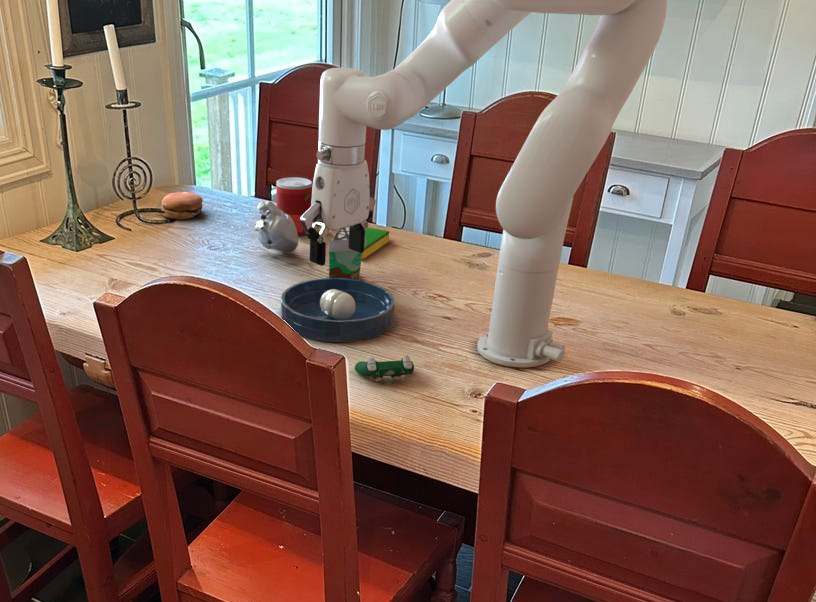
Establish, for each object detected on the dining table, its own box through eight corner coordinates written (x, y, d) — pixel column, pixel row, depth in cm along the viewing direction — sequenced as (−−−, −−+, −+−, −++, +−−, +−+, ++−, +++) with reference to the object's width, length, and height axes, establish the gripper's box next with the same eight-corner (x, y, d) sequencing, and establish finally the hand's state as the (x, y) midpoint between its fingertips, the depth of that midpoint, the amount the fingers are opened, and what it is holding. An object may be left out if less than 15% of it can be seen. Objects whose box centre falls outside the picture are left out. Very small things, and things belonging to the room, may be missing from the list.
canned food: (311, 237, 190) (311, 186, 184) (275, 236, 190) (275, 185, 184) (312, 226, 196) (313, 177, 190) (278, 225, 196) (277, 176, 190)
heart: (295, 266, 173) (298, 205, 168) (250, 261, 174) (252, 201, 169) (305, 258, 182) (308, 200, 177) (262, 254, 184) (264, 196, 179)
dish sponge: (332, 254, 181) (333, 243, 180) (360, 236, 191) (361, 225, 190) (362, 260, 178) (363, 248, 177) (389, 241, 189) (390, 230, 187)
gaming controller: (355, 387, 135) (362, 376, 129) (353, 364, 136) (359, 352, 130) (411, 384, 137) (420, 372, 131) (409, 361, 137) (417, 349, 131)
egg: (361, 319, 152) (362, 293, 149) (342, 327, 149) (342, 300, 146) (332, 308, 156) (333, 282, 153) (313, 316, 153) (314, 289, 150)
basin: (416, 320, 153) (417, 299, 151) (339, 354, 141) (340, 332, 139) (335, 289, 164) (335, 269, 162) (258, 318, 152) (257, 297, 150)
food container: (358, 295, 162) (361, 243, 157) (327, 291, 163) (328, 240, 158) (369, 272, 172) (372, 223, 167) (340, 270, 173) (341, 221, 168)
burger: (166, 221, 196) (164, 201, 194) (158, 210, 203) (156, 190, 201) (208, 218, 199) (207, 198, 197) (198, 207, 206) (197, 187, 204)
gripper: (320, 167, 129) (317, 275, 139) (393, 150, 140) (386, 251, 149) (286, 157, 133) (285, 262, 143) (360, 141, 144) (354, 240, 154)
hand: (337, 256), depth 146 cm, fingers open, 9 cm apart
